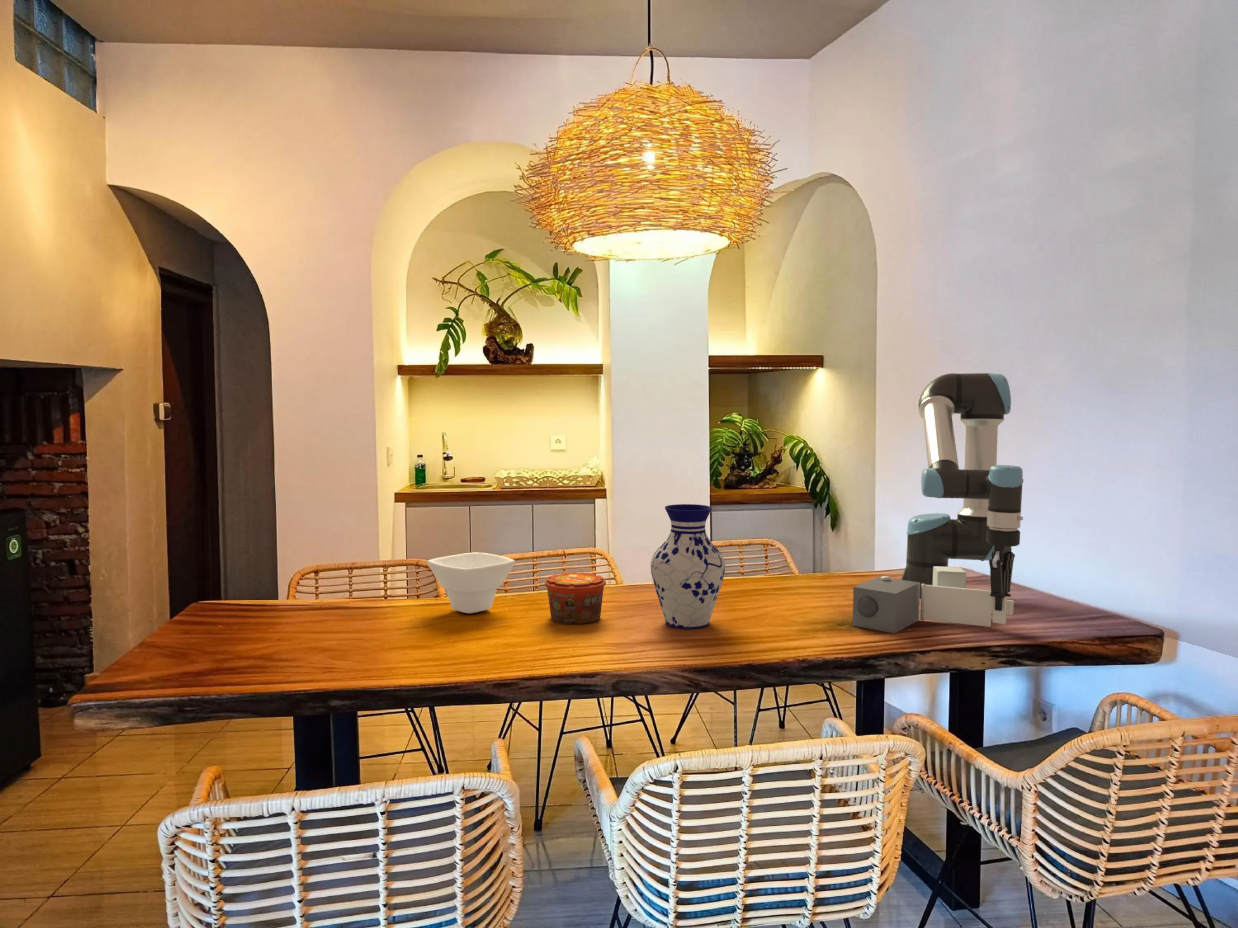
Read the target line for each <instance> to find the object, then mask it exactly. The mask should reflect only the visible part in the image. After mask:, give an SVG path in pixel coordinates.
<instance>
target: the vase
mask: <svg viewBox="0 0 1238 928" xmlns="http://www.w3.org/2000/svg"><path fill="white" fill-rule="evenodd" d="M664 509H665V512H666V513H667V516H668V518H669V520H670V525H671V526H670V532H669V534H668V536H667V537H666V539H665V541H664V542H662V544H661V545H660V546H659V547H658V548H657V549H656V550H655V552H654V553H653V554H652V557H651V561H650V574H651V577H652V582H653V585H654V589H655V593H656V595H657V599H658V602H659V605H660V608H661V612H662V614H663V617H664V621H665V624H666V625H667V626H669V627H671V628H675V629H678V630H679V629H681V630H697V629H699V630H700V629H702V628H705V627H708V625H709V624H710V620H711V618H712V617H711V616H712V615H713V611H714V608H715V605H716V603H717V600H718V596H719V594H720V591H721V589H722V584H723V580H724V577H725V573H726V563H725V559H724V557H723V554H722V553H721V552H720V551H719V550H718V548H717V547H716V546H715V545H714V543H712V541H711V540H710V539H709V537H708V534H707V532H706V523H707V519H708V518H709V515H710V513H711V512H712V510H713V507H712V506H711V505H705V504H697V503H695V504H694V503H693V504H690V503H683V504H680V503H679V504H668V505H665V506H664Z"/></svg>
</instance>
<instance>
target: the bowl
mask: <svg viewBox="0 0 1238 928" xmlns="http://www.w3.org/2000/svg"><path fill="white" fill-rule="evenodd" d="M426 563H427V565H428V567H429V569H430V570H431V572H432V573H433V575H434V577H435V578H436V580H437V581H438V583H439V585H440V586H441V587H442V588H445V591H446V594H447V597H448V600H449V603H450V607H451V608H452V609H453V610H454V611H456V612H459V613H465V614H474V613H479V612H482V611H483V612H484V611H487V610H490V609H492V607H493V604H494V600H495V597H496V593H497V589H498V588H499V587H501V586H503V585H504V583H505V581H506V579H507V577H508V576H509V575H510V572H511V570H512V569H513V567H514V565H515V564H516V561H515V559H512V558H509V557H507V556H503V555H498V554H495V553H494V554H492V553H486V552H479V551H478V552H477V551H475V552H468V553H467V552H465V553H459V554H453V555H446V556H440V557H435V558H431V559H428V560H427V561H426Z"/></svg>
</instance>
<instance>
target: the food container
mask: <svg viewBox="0 0 1238 928" xmlns="http://www.w3.org/2000/svg"><path fill="white" fill-rule="evenodd" d="M606 585H607V581H606V579H605V578H604V577H603V576H601V575H600V574H599V575H596V574H595V573H591V572H576V571H574V572H573V571H572V572H571V571H570V572H562V573H560V574H551V575H550V576H548V578H547V579H545V581H544V586H545V587H546V589H547V597H548V598H547V599H548V605H549V611H550V612H549V613H550V618H551V620H552V621H553V622H555V623H558V624H560V625H567V626H568V625H569V626H570V625H571V626H572V625H586V624H592V623H596V622H597V621H599V620H600V619H601V614H602V604H603V599H604V598H603V597H604V587H605V586H606Z"/></svg>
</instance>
